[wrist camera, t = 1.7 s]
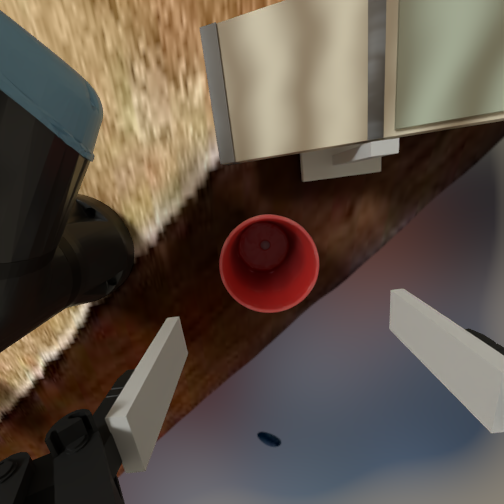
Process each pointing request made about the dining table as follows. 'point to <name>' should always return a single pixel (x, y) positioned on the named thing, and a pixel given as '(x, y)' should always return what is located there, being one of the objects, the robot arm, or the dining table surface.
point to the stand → (346, 160)
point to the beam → (351, 73)
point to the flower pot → (269, 263)
